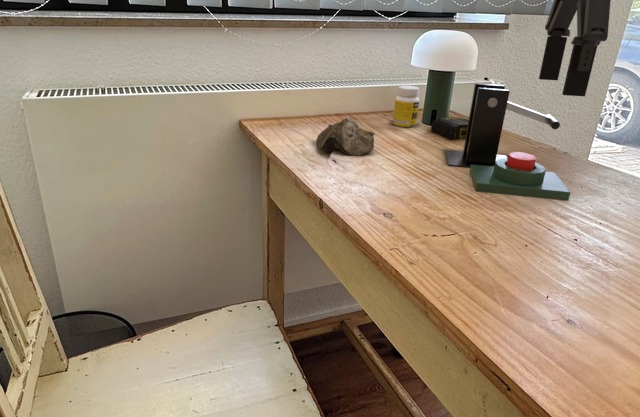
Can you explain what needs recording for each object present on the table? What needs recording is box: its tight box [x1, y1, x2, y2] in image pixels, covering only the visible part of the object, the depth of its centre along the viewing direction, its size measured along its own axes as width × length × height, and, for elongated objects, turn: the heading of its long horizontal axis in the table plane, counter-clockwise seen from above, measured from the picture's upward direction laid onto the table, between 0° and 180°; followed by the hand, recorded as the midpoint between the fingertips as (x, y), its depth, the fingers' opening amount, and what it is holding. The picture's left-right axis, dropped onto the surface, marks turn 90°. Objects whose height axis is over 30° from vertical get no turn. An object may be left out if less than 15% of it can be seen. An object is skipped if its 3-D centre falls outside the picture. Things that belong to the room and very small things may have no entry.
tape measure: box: [430, 116, 469, 141], centre depth 93 cm, size 7×7×4 cm
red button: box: [506, 151, 537, 171], centre depth 68 cm, size 4×4×2 cm
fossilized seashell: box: [315, 117, 375, 157], centre depth 82 cm, size 8×7×10 cm
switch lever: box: [483, 87, 561, 130], centre depth 75 cm, size 12×5×2 cm, turn 80°
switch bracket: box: [444, 82, 511, 169], centre depth 77 cm, size 10×8×13 cm
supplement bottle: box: [392, 85, 420, 129], centre depth 97 cm, size 5×5×8 cm
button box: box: [469, 157, 571, 201], centre depth 69 cm, size 12×8×4 cm, turn 80°
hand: (559, 87), depth 73 cm, fingers open, 13 cm apart
